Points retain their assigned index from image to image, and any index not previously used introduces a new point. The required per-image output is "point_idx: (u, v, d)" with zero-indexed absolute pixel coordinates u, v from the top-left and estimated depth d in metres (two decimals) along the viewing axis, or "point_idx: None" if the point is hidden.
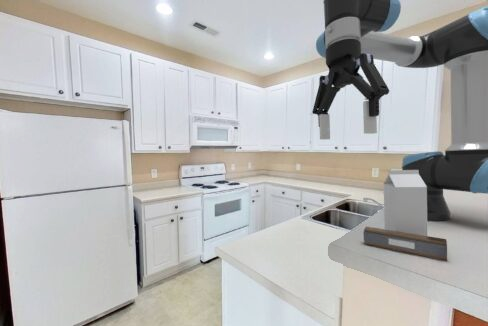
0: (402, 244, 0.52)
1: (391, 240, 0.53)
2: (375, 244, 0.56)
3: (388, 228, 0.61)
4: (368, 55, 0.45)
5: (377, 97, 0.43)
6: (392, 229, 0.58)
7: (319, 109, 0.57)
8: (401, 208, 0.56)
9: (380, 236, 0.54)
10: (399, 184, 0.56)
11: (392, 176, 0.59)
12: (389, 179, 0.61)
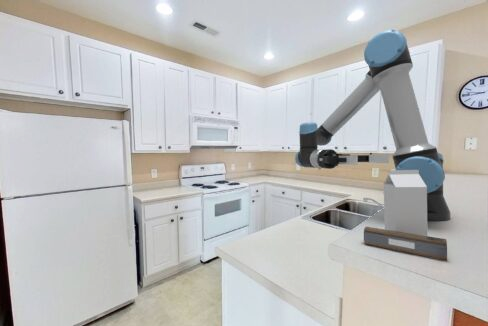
0: (402, 244, 0.52)
1: (391, 240, 0.53)
2: (375, 244, 0.56)
3: (388, 228, 0.61)
4: (319, 159, 0.80)
5: (334, 160, 0.70)
6: (392, 229, 0.58)
7: (367, 161, 0.77)
8: (401, 208, 0.56)
9: (380, 236, 0.54)
10: (399, 184, 0.56)
11: (392, 176, 0.59)
12: (389, 179, 0.61)
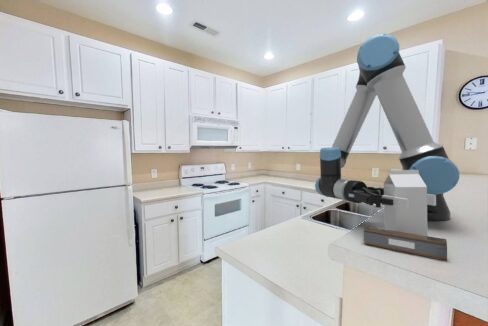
0: (402, 244, 0.52)
1: (391, 240, 0.53)
2: (375, 244, 0.56)
3: (388, 228, 0.61)
4: (349, 195, 0.68)
5: (376, 201, 0.59)
6: (392, 229, 0.58)
7: None
8: None
9: (380, 236, 0.54)
10: (399, 184, 0.56)
11: (392, 176, 0.59)
12: (389, 179, 0.61)
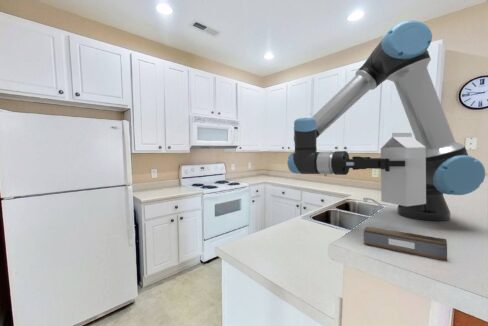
0: (402, 244, 0.52)
1: (391, 240, 0.53)
2: (375, 244, 0.56)
3: (389, 193, 0.59)
4: (348, 163, 0.61)
5: (387, 164, 0.55)
6: (398, 193, 0.56)
7: None
8: (409, 169, 0.55)
9: (380, 236, 0.54)
10: (407, 145, 0.55)
11: (396, 138, 0.57)
12: (388, 143, 0.59)
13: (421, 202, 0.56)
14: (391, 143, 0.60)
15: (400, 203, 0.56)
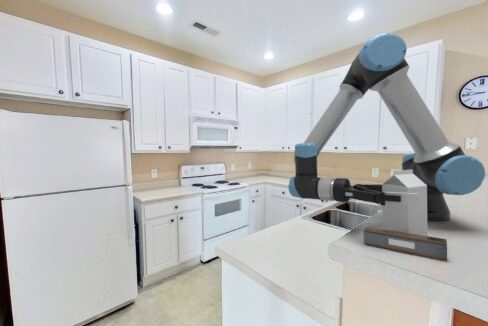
0: (402, 244, 0.52)
1: (391, 240, 0.53)
2: (375, 244, 0.56)
3: (391, 230, 0.59)
4: (346, 194, 0.62)
5: (383, 198, 0.55)
6: (400, 231, 0.57)
7: None
8: (411, 208, 0.55)
9: (380, 236, 0.54)
10: (408, 184, 0.55)
11: (398, 176, 0.57)
12: (390, 180, 0.59)
13: None
14: (392, 180, 0.60)
15: None
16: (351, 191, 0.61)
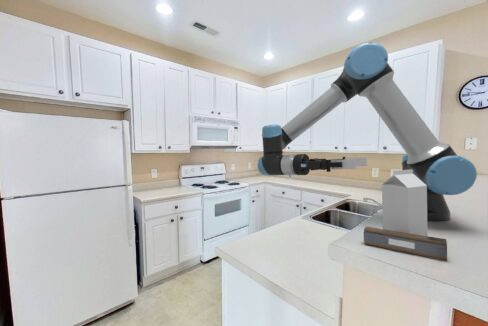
0: (402, 244, 0.52)
1: (391, 240, 0.53)
2: (375, 244, 0.56)
3: (391, 230, 0.59)
4: (301, 165, 0.70)
5: (328, 165, 0.63)
6: (400, 231, 0.57)
7: None
8: (411, 208, 0.55)
9: (380, 236, 0.54)
10: (408, 184, 0.55)
11: (397, 176, 0.57)
12: (390, 180, 0.59)
13: None
14: (392, 180, 0.60)
15: None
16: (305, 162, 0.69)
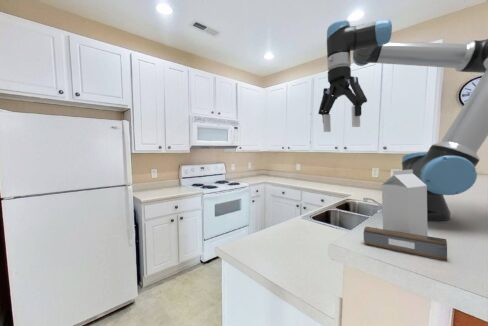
0: (402, 244, 0.52)
1: (391, 240, 0.53)
2: (375, 244, 0.56)
3: (391, 230, 0.59)
4: (354, 77, 0.71)
5: (360, 104, 0.69)
6: (400, 231, 0.57)
7: (323, 111, 0.84)
8: (411, 208, 0.55)
9: (380, 236, 0.54)
10: (408, 184, 0.55)
11: (397, 176, 0.57)
12: (390, 180, 0.59)
13: None
14: (392, 180, 0.60)
15: None
16: (357, 81, 0.71)
